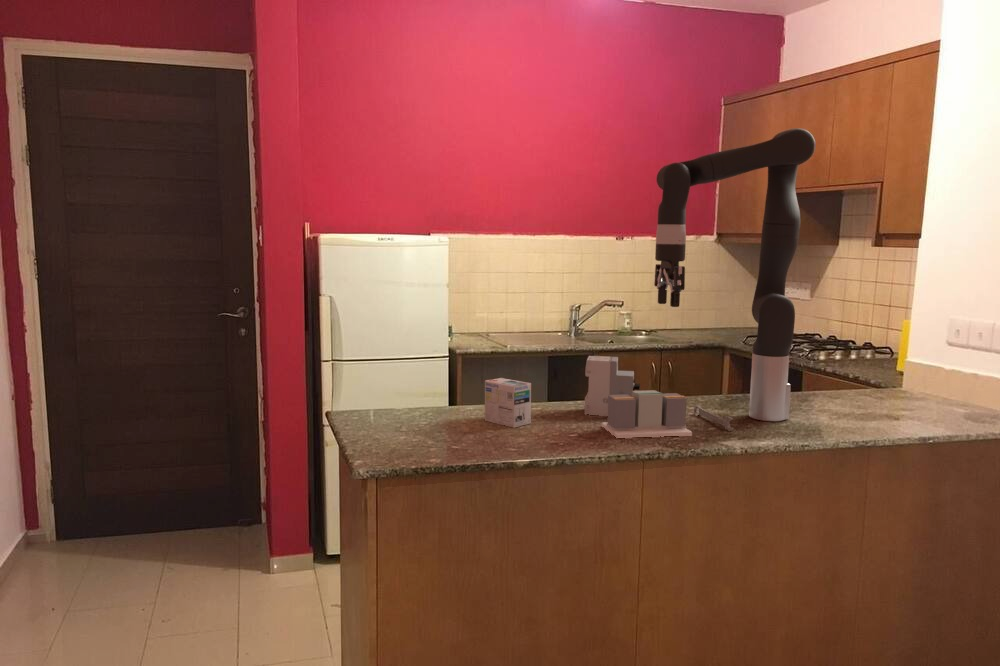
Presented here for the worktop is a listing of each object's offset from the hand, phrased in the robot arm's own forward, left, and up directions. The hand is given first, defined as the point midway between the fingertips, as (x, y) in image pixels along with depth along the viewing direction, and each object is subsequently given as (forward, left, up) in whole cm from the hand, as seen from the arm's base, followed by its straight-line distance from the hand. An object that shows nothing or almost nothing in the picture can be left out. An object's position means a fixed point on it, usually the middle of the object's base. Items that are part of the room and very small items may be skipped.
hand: (668, 305), depth 199 cm
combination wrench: (-11, +6, -31) cm, 33 cm away
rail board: (+10, +12, -30) cm, 34 cm away
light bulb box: (+42, -1, -30) cm, 52 cm away
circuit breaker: (+12, -7, -30) cm, 33 cm away
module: (+10, +12, -28) cm, 32 cm away
